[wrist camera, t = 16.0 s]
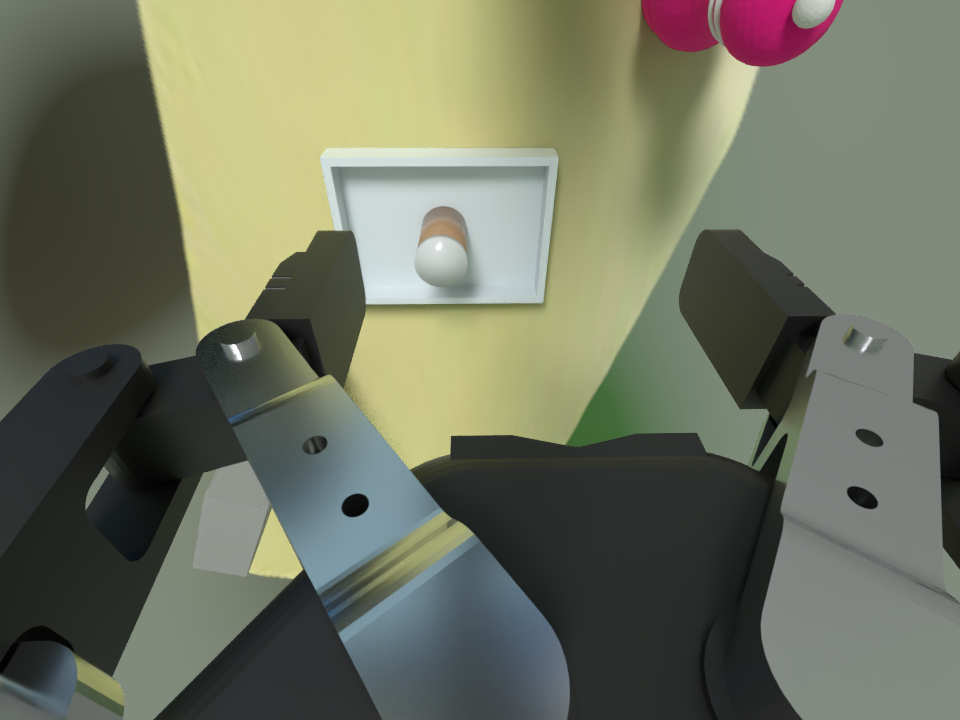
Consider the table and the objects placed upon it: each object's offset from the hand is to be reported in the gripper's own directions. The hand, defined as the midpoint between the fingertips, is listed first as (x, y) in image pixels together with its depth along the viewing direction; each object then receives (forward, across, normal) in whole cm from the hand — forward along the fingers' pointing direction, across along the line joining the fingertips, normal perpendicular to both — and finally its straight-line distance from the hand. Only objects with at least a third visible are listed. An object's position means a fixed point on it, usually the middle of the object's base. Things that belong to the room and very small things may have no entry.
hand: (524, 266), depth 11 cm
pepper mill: (+38, -16, -4) cm, 42 cm away
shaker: (+38, +4, +16) cm, 41 cm away
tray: (+38, +4, +16) cm, 41 cm away
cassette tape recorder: (+38, +24, +36) cm, 58 cm away
